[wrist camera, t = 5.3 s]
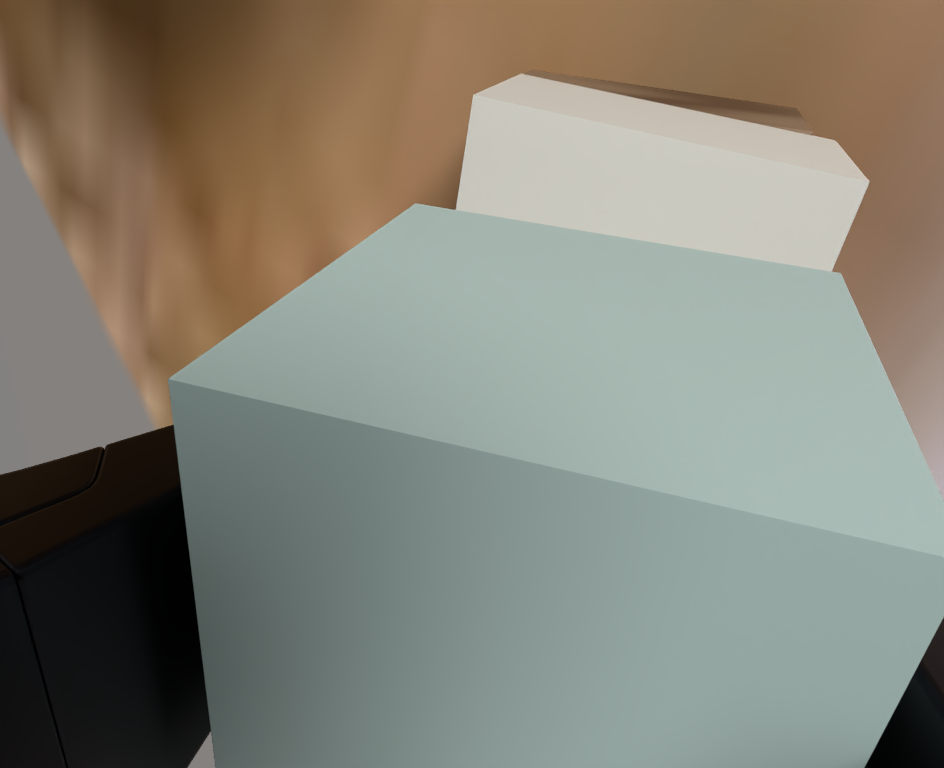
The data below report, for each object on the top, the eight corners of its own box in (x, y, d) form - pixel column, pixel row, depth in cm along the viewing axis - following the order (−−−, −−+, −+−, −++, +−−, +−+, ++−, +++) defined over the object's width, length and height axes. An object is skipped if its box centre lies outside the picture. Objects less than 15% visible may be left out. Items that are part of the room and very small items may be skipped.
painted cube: (840, 273, 8) (971, 563, 4) (729, 604, 11) (739, 1004, 7) (415, 203, 9) (168, 379, 5) (399, 520, 12) (221, 820, 8)
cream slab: (835, 140, 14) (869, 181, 11) (728, 413, 17) (732, 505, 14) (521, 73, 15) (473, 94, 12) (472, 343, 18) (423, 414, 15)
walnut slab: (795, 107, 17) (813, 131, 14) (723, 346, 20) (726, 410, 17) (534, 69, 18) (499, 84, 15) (503, 301, 21) (468, 352, 18)
